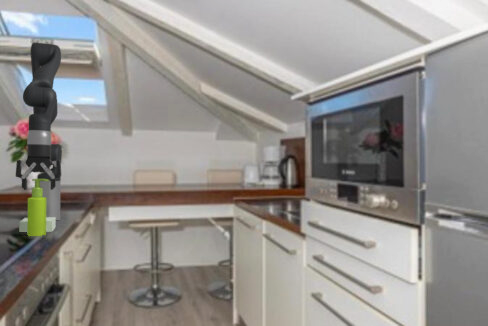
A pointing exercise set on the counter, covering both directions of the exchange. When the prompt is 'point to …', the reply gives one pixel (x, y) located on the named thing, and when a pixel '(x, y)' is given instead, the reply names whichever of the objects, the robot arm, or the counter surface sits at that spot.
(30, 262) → the counter surface
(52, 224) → the plate
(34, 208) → the soap dispenser
